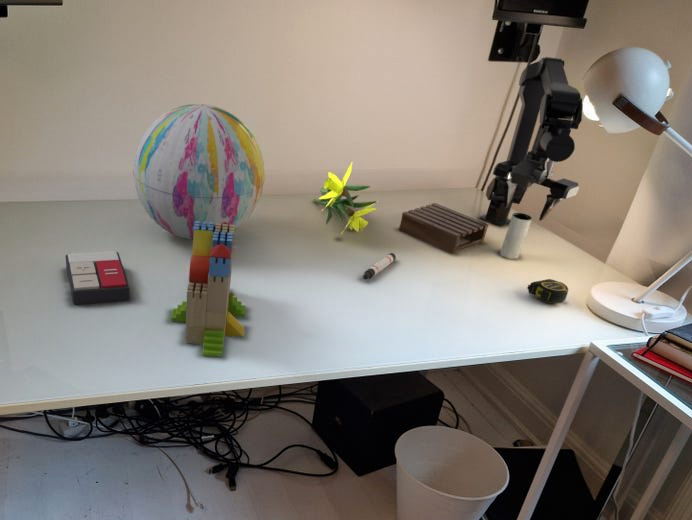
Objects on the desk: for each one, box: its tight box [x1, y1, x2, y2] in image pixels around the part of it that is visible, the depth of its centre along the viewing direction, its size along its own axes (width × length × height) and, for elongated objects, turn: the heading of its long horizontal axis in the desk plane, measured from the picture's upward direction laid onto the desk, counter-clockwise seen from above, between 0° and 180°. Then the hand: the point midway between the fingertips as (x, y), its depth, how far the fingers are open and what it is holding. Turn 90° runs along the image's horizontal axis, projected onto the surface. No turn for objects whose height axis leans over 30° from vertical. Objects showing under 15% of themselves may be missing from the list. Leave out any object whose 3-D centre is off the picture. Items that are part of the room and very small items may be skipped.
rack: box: [398, 202, 490, 255], centre depth 168 cm, size 14×17×5 cm
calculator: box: [65, 250, 130, 305], centre depth 132 cm, size 11×4×15 cm
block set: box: [170, 221, 247, 358], centre depth 121 cm, size 28×14×19 cm, turn 178°
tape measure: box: [526, 278, 569, 304], centre depth 143 cm, size 7×7×4 cm
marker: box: [362, 252, 397, 280], centre depth 148 cm, size 15×2×2 cm, turn 145°
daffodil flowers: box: [313, 162, 378, 235], centre depth 166 cm, size 17×15×35 cm
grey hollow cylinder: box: [499, 212, 533, 260], centre depth 160 cm, size 4×4×10 cm
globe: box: [132, 103, 265, 241], centre depth 149 cm, size 30×30×30 cm
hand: (523, 213), depth 156 cm, fingers open, 9 cm apart
